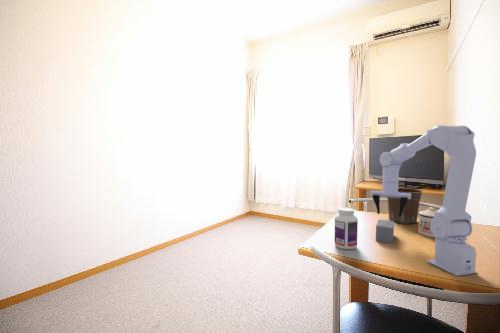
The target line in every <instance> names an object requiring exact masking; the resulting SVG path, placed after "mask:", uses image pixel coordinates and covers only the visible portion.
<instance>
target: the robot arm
mask: <svg viewBox="0 0 500 333" xmlns="http://www.w3.org/2000/svg"><path fill="white" fill-rule="evenodd" d="M474 138H475V132H474V131H473V130H472V129H471V128H469V127H468V126H467V125H440V124H438V125H435V126H433V127H432V128H429V129H427V131H426V133H424V134H423V135H421V136H420V137H418V138H417V139H415V140H414V141H412V142H411V143H405V142H402V143H400V144H399V146H397V147H396V148H393V149H391V151H389V152H388V151H383V152H382V153H381V154H380V156H379V164H380V165H381V166H382V177H381V179H382V182H381V185H382V187H381V190H370V191H369V196H370V197H372V200H373V202H374V205H375V206H376V211H377V214H378V215H380V213H381V212H380V211H381V210H380V209H381V208H380V206H381V205H380V200H381V198H380V197H383V198H387V197H394V198H400V209H399V216H401V214H402V210H403V208H404V206H405V204H406V203H407V201H408V199H411V194H409V193H400V192H398V188H399V171H400V170H401V166H402V164H403V162H405V161H408V160H409V159H411V158H413V157H415V156H416V152H418V151H420V150H422V149H425V148H428V147H430V146H435V147H436V148H438V149H440V150H441V151H443V152H445V153H446V154H447V155H448V156H449V157H450V160H449V167H448V171H447V178H446V184H445V189H444V195H443V198H442V199H443V200H442V205H441V207H439V209H438V210H436V211H437V212H436V213H435V215H434V218H433V220H432V221H431V222H430V230H431V232H432V234H433V235H434V237H435V239H434V240H435V241H434V243H435V245H434V259H430V260H427V263H429V264H431V265H432V266H435V267H437V268H439V269H440V270H444V271H446V272H447V273H450V274H452V275H455V276H458V277H459V276H466V275H470V274H476V273H477V272H478V271H477V270H476V261H477V251H476V248H475V247H474V246H472V245H470V244H468V243H467V242H466V241H467V239H468V237H470V236H471V235H472V233H473V225H472V215H471V214H469V213H468V212H467V211H466V208H467V204H468V198H469V193H470V189H471V188H470V187H471V184H472V177H473V172H474V168H475V163H476V157H477V150H476V149H477V148H476V146H475V143H474ZM387 195H389V196H387ZM434 237H433V238H434Z"/></svg>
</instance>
